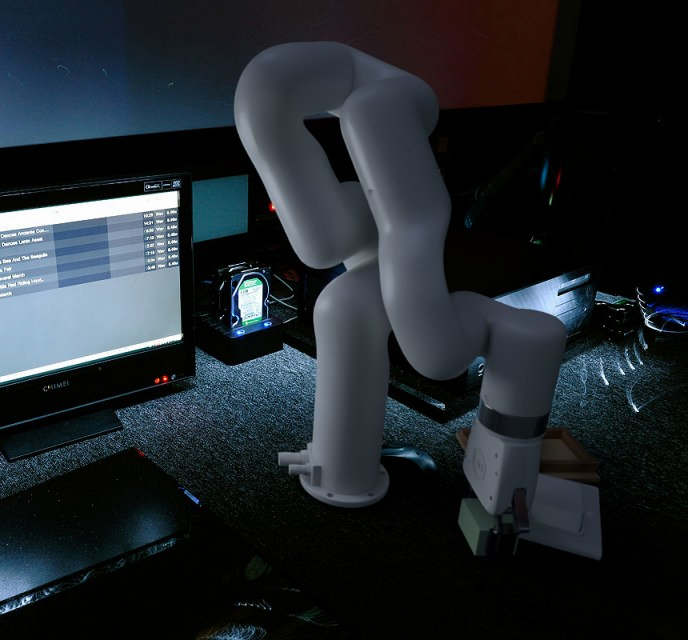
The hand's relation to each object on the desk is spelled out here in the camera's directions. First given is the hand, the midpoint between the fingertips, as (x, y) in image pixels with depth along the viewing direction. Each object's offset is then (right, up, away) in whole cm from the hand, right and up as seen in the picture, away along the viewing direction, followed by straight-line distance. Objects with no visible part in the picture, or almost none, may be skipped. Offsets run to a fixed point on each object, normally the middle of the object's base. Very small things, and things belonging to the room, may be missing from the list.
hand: (488, 534), depth 84 cm
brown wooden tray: (+12, +7, +16) cm, 21 cm away
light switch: (+10, +1, +4) cm, 11 cm away
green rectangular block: (0, -1, 0) cm, 1 cm away
